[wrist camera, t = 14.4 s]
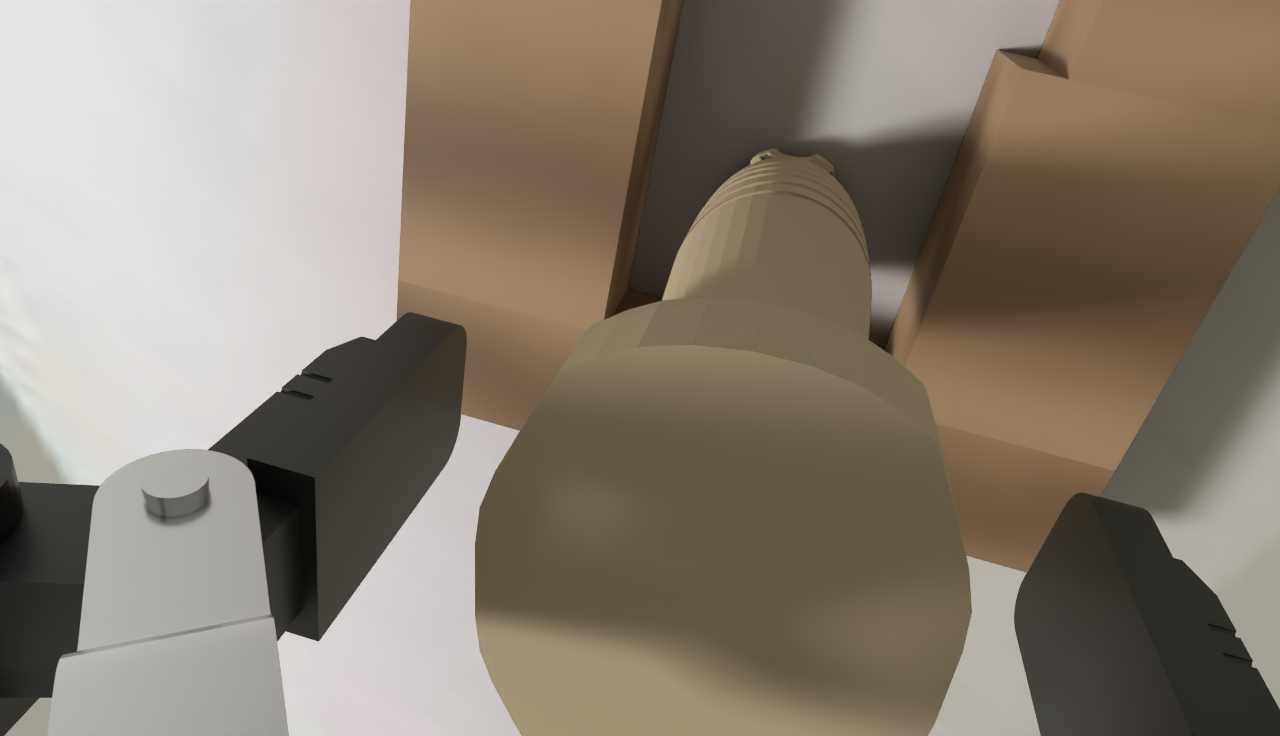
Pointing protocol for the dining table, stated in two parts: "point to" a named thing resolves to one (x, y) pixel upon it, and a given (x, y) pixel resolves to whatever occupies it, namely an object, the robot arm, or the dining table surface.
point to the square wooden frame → (951, 255)
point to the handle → (730, 500)
